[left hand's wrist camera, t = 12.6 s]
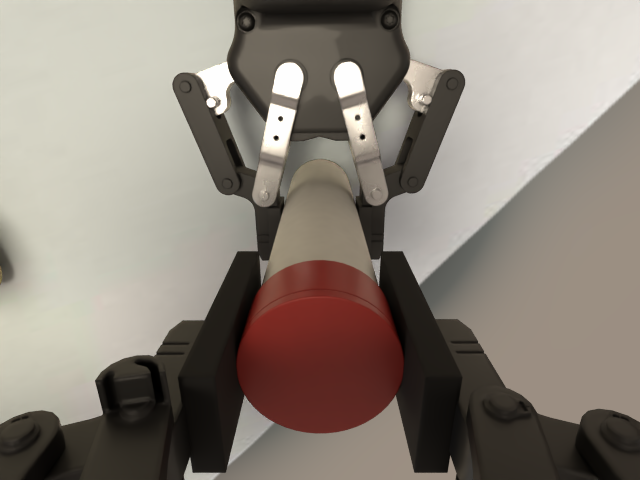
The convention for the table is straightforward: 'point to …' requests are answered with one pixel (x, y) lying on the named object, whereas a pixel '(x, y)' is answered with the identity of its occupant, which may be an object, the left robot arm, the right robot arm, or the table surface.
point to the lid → (320, 348)
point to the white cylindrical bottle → (320, 221)
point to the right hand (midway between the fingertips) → (321, 262)
